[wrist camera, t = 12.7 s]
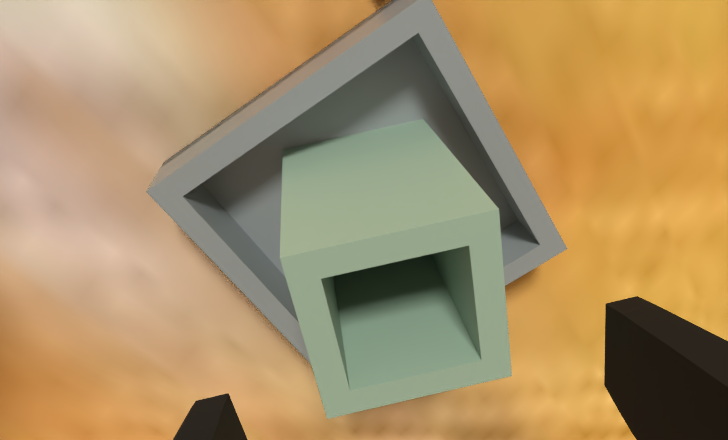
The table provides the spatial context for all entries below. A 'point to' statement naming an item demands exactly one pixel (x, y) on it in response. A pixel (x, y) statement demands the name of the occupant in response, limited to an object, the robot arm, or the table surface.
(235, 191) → the grey tray
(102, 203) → the table surface
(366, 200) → the green sleeve
